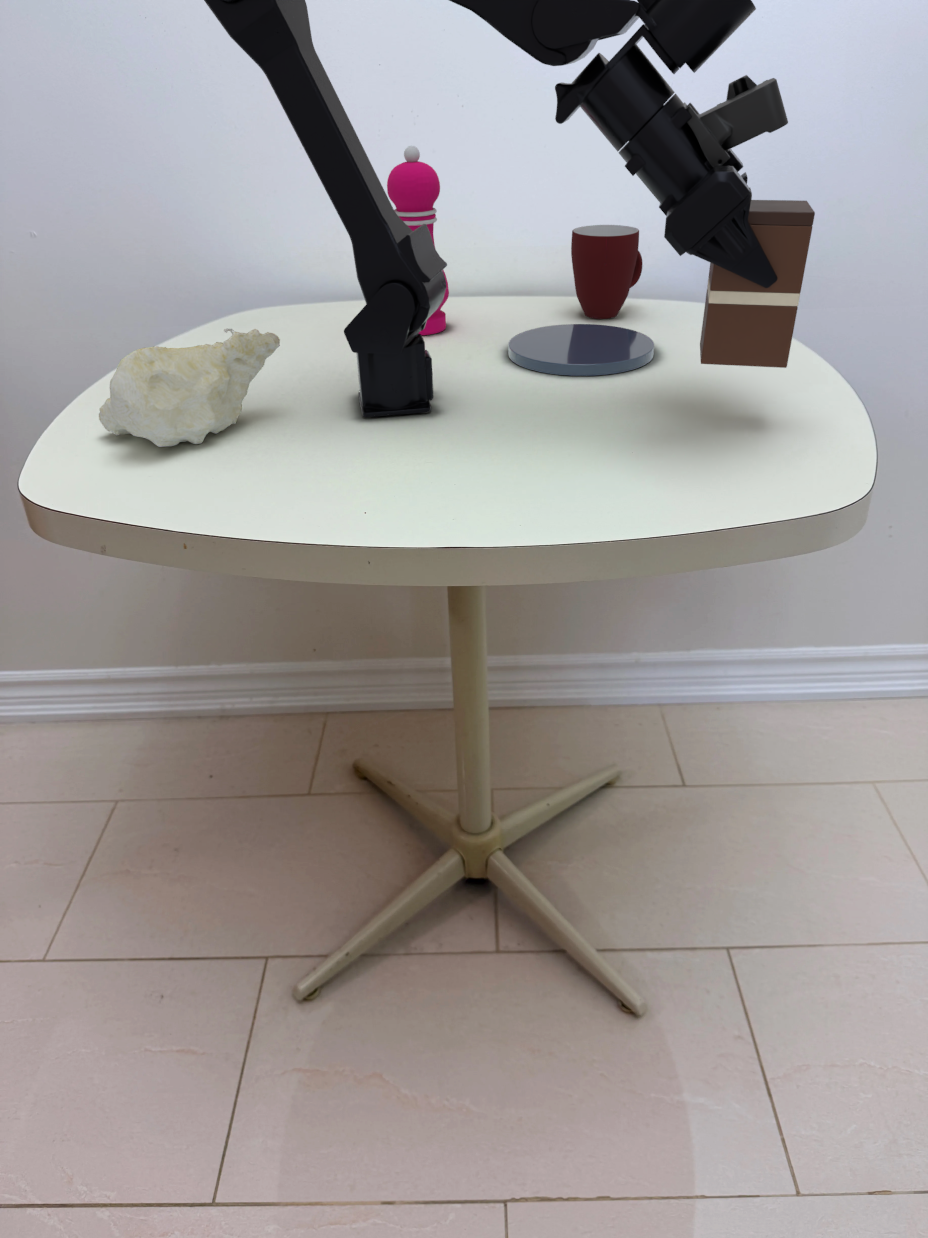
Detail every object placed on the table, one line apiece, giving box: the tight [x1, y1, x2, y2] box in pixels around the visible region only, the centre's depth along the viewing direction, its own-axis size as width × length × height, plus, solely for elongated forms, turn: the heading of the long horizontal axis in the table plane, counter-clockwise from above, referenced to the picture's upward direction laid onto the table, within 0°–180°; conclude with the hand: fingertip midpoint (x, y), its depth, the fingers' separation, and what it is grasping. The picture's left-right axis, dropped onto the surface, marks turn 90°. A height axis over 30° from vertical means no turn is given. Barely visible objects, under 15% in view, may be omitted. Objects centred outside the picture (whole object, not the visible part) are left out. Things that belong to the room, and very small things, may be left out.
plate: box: [507, 323, 655, 377], centre depth 100 cm, size 16×16×1 cm
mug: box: [570, 224, 643, 320], centre depth 111 cm, size 11×8×10 cm
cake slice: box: [699, 199, 816, 369], centre depth 74 cm, size 7×6×12 cm
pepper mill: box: [386, 145, 450, 336], centre depth 105 cm, size 7×7×20 cm
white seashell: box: [98, 328, 281, 448], centre depth 80 cm, size 15×7×15 cm
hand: (770, 275), depth 74 cm, fingers closed on cake slice, 5 cm apart
